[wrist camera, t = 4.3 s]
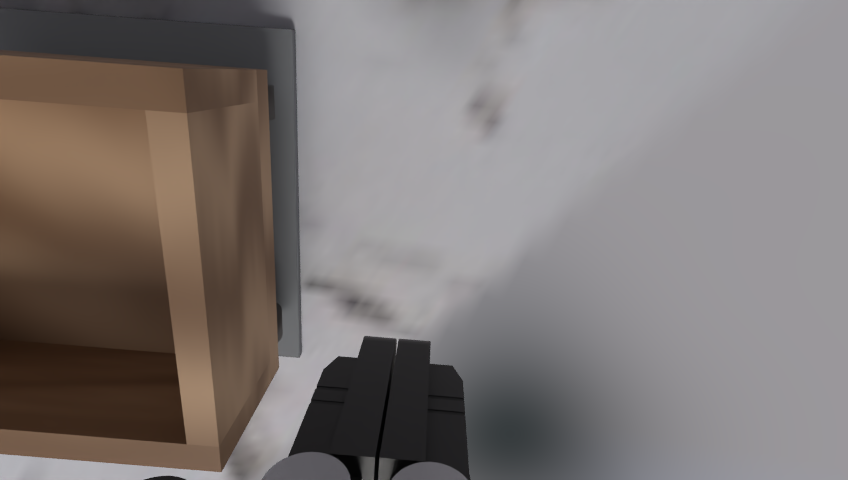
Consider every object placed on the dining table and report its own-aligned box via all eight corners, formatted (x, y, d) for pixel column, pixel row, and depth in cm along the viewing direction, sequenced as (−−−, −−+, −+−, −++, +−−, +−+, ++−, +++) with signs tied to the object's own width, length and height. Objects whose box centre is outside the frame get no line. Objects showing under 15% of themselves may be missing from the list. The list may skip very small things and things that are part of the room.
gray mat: (-150, -3, 19) (-162, -4, 19) (295, 30, 19) (292, 29, 18) (-50, 325, 24) (-58, 329, 24) (301, 353, 24) (299, 357, 24)
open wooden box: (-7, 47, 19) (-330, 30, 11) (291, 70, 19) (182, 68, 11) (51, 313, 23) (-154, 441, 15) (297, 333, 23) (221, 471, 15)
